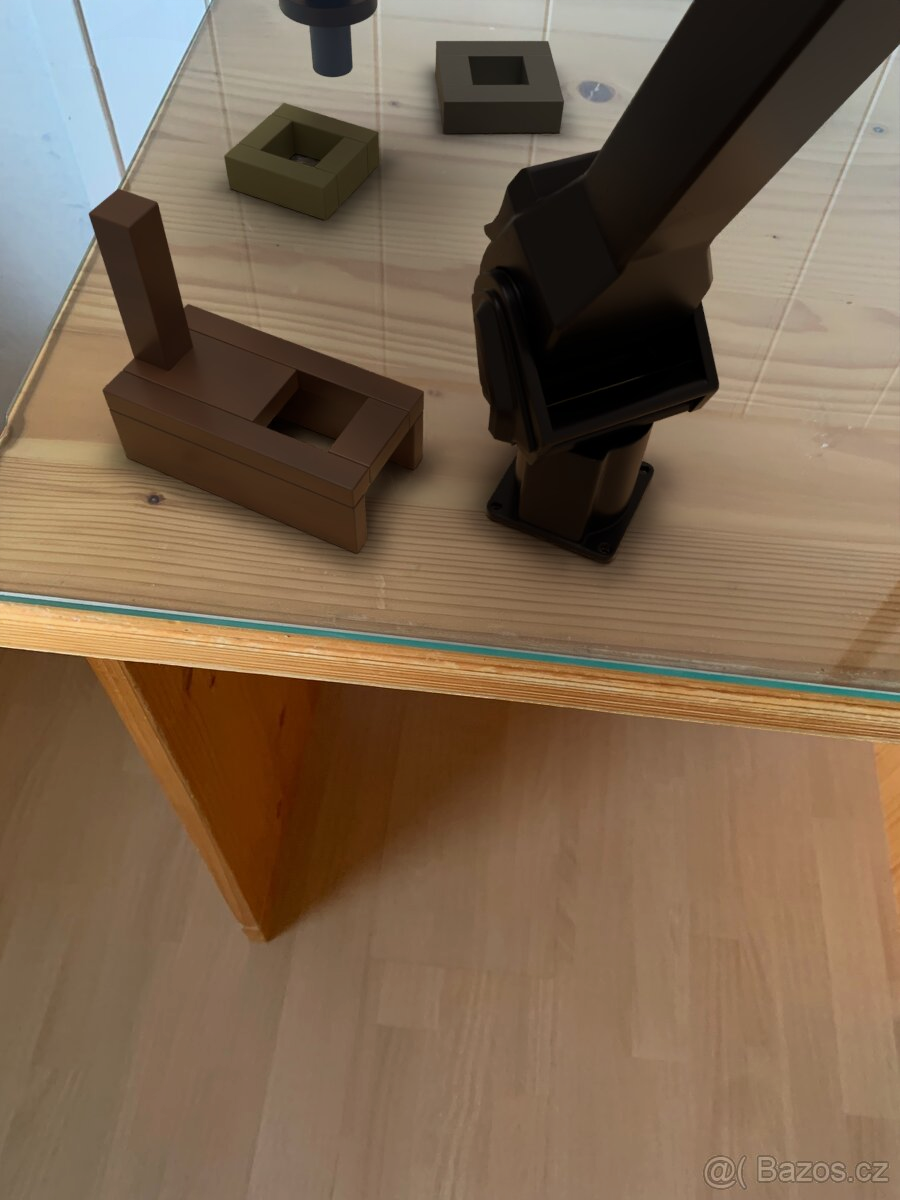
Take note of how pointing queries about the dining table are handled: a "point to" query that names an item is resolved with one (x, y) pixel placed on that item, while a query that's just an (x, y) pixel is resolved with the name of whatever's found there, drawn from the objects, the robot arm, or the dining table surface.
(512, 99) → the block
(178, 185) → the dining table surface
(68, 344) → the dining table surface
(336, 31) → the peg
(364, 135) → the frame
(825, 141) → the dining table surface
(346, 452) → the stand
